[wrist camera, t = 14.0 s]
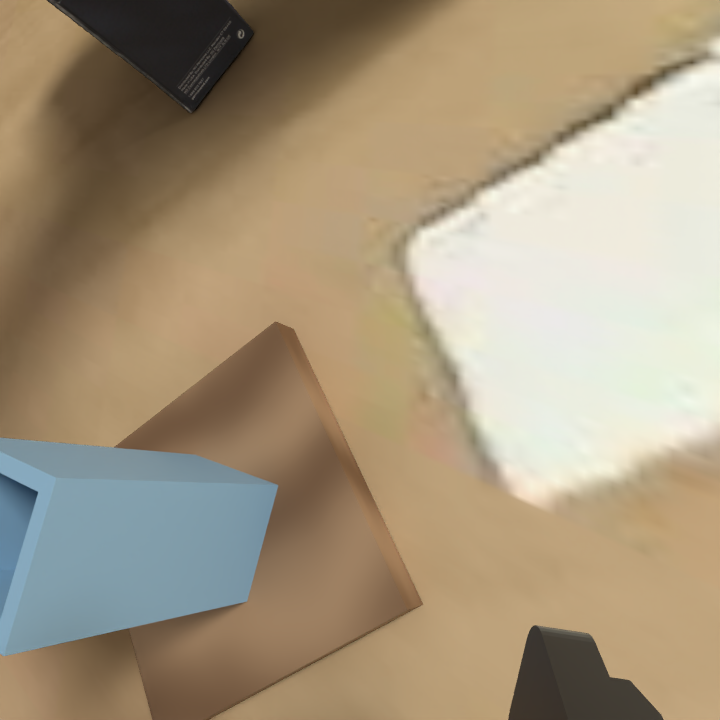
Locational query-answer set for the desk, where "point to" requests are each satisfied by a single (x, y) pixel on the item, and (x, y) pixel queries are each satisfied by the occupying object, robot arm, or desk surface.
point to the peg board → (272, 536)
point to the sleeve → (120, 539)
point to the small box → (167, 39)
